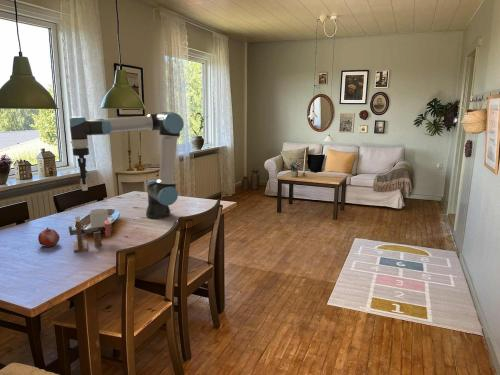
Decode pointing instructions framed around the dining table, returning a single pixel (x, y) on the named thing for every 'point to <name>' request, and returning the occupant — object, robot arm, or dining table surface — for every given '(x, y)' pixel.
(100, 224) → the mug
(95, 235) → the saddle block
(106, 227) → the hook rod
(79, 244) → the wooden square frame
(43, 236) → the fruit
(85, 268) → the dining table surface
